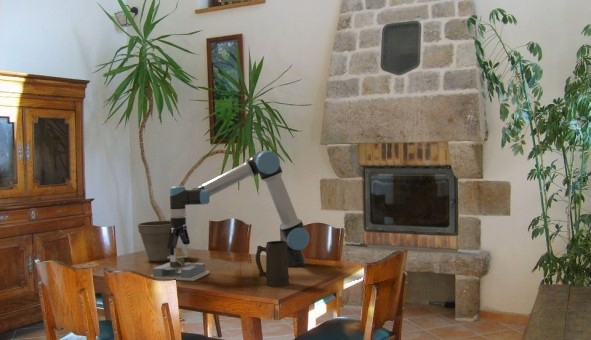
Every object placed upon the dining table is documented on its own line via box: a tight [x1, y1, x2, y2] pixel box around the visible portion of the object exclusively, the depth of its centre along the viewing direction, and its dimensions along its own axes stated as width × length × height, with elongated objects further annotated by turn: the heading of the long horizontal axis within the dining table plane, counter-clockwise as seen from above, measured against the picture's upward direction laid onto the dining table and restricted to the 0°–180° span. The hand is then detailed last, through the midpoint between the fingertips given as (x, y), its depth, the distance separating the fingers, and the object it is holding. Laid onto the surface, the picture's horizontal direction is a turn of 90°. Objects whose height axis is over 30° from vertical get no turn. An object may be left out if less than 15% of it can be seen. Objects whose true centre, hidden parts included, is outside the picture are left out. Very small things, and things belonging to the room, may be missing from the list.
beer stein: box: [255, 240, 290, 287], centre depth 289 cm, size 15×11×20 cm
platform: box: [163, 251, 194, 270], centre depth 312 cm, size 12×18×7 cm, turn 126°
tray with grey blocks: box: [151, 261, 210, 282], centre depth 313 cm, size 24×18×5 cm
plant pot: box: [137, 219, 179, 262], centre depth 365 cm, size 25×25×22 cm
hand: (179, 259), depth 313 cm, fingers open, 13 cm apart
